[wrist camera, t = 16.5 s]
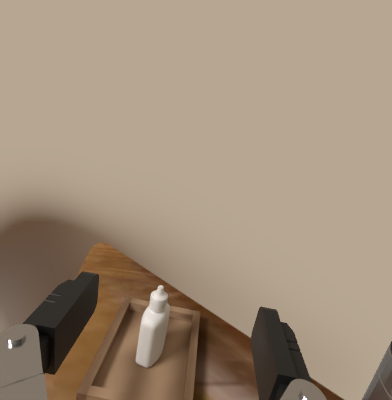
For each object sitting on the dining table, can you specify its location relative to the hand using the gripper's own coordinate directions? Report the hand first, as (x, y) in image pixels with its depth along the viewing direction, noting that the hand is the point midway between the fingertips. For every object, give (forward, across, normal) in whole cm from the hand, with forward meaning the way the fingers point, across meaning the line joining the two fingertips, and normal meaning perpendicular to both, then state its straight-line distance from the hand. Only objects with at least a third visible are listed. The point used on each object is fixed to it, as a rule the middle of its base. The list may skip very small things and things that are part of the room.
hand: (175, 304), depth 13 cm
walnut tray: (+21, +3, +28) cm, 34 cm away
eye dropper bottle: (+21, +3, +27) cm, 34 cm away
